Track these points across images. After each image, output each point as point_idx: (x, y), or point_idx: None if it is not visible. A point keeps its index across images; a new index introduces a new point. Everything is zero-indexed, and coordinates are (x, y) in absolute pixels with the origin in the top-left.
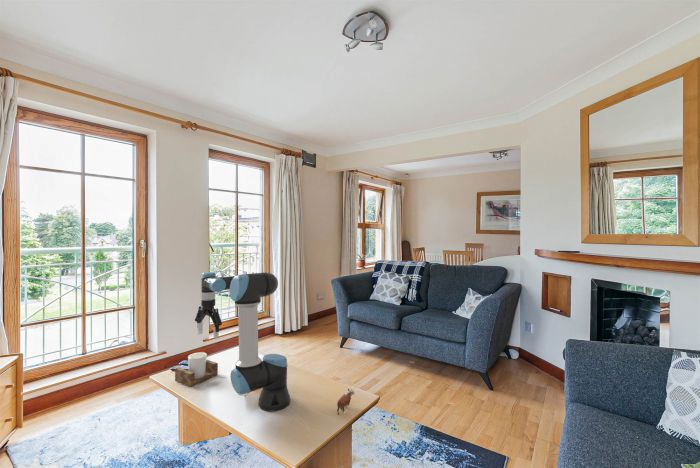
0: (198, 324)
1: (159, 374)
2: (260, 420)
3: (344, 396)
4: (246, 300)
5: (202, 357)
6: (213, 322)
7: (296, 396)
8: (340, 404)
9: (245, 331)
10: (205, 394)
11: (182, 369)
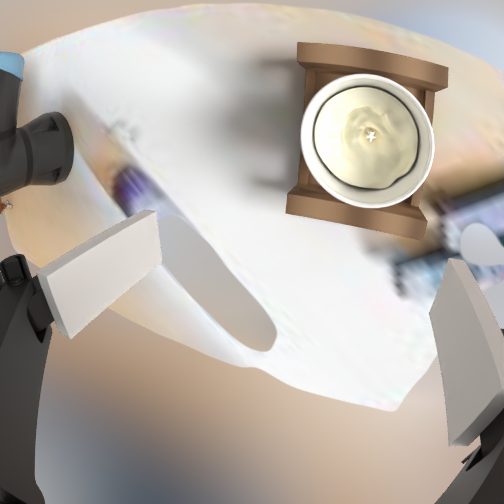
0: (501, 367)
1: None
2: (43, 86)
3: None
4: None
5: (301, 127)
6: (4, 321)
7: (48, 194)
8: None
9: None
10: (206, 54)
11: (400, 67)
